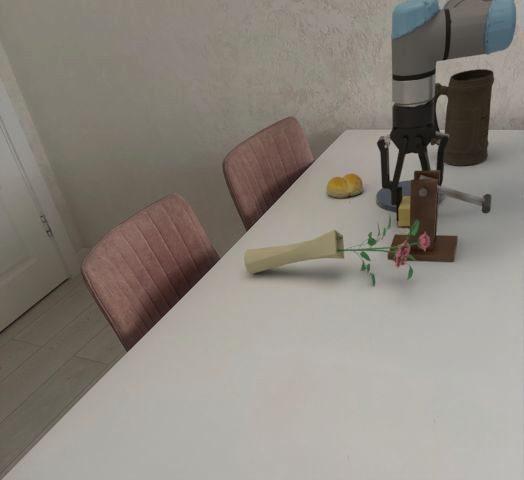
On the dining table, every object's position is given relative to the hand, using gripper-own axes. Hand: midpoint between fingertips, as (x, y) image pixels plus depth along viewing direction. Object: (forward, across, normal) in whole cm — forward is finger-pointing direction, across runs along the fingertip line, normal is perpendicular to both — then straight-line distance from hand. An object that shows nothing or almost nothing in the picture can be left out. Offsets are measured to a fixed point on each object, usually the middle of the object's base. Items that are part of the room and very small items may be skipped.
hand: (411, 218), depth 106 cm
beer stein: (+1, -6, -36) cm, 36 cm away
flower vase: (+1, +11, +23) cm, 26 cm away
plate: (+1, +2, -12) cm, 12 cm away
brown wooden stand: (+1, -4, +12) cm, 13 cm away
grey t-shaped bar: (-9, -8, +12) cm, 17 cm away
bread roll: (+1, +18, -16) cm, 24 cm away
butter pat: (0, 0, 0) cm, 0 cm away
